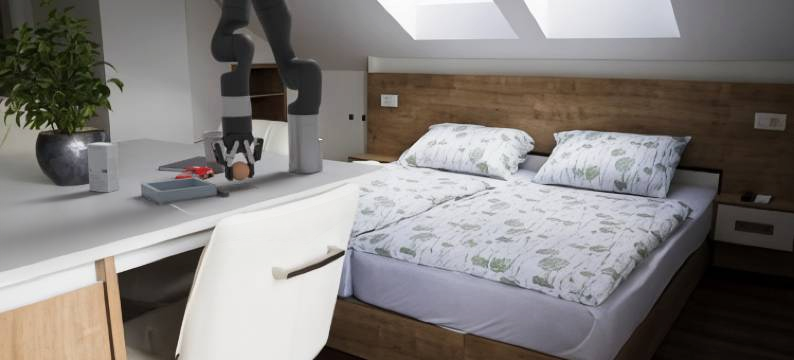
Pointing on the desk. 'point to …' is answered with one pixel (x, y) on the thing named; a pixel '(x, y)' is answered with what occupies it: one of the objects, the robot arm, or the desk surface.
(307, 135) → the robot arm
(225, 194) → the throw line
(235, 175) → the ball
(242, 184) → the tee mat
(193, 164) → the notebook
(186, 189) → the blue-grey tray
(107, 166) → the skincare box
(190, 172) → the race car
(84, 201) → the desk surface
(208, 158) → the cup
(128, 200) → the desk surface
